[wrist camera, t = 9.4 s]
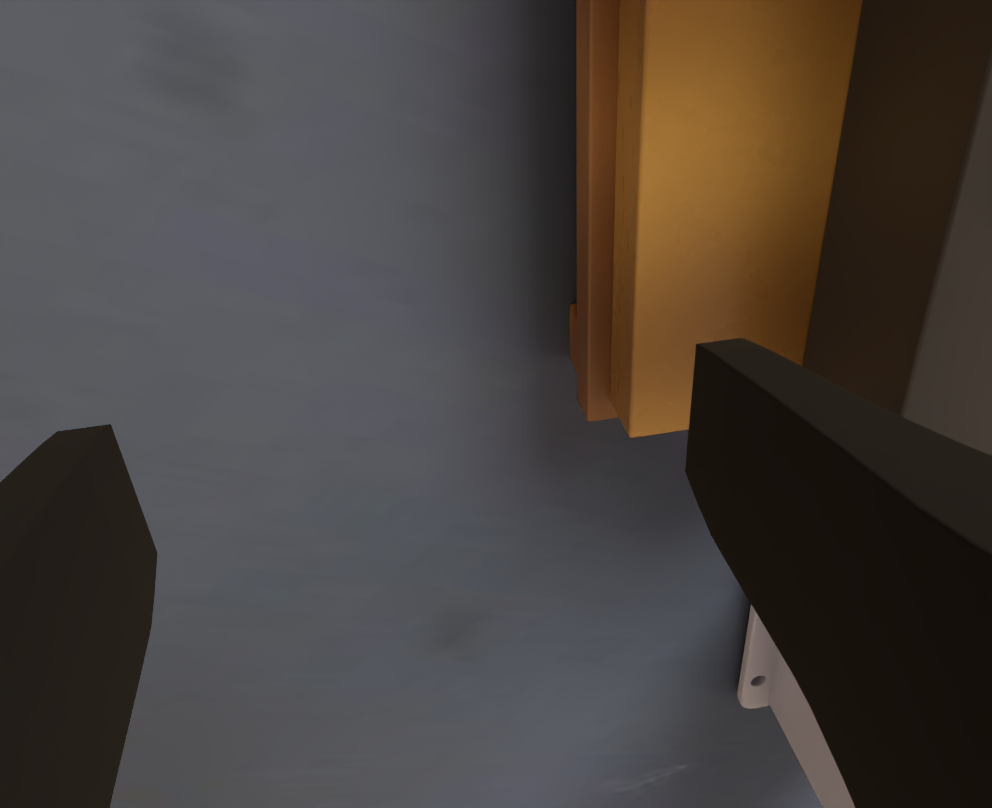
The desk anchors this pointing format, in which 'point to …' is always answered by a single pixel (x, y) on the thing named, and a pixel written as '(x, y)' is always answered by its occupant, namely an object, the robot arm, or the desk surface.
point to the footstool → (699, 188)
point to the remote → (913, 221)
